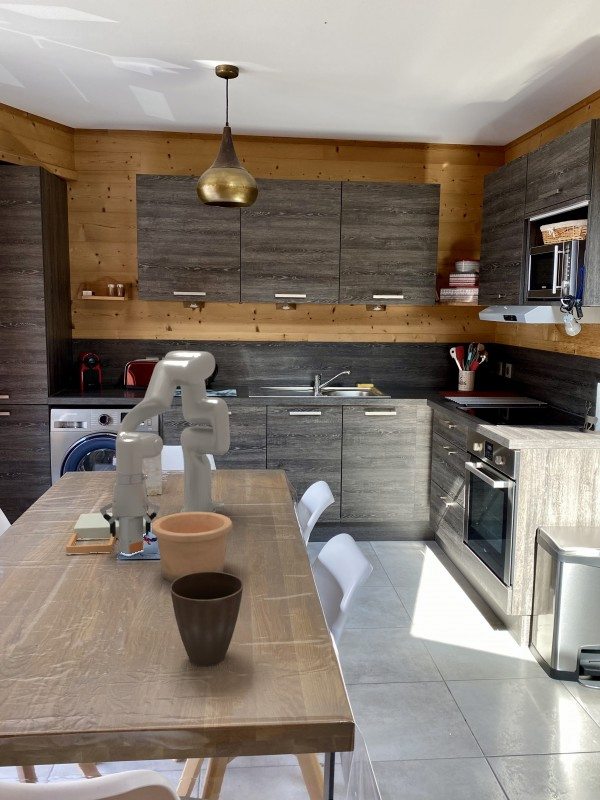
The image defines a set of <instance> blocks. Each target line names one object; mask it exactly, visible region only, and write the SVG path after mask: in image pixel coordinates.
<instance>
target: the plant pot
mask: <svg viewBox="0 0 600 800" xmlns="http://www.w3.org/2000/svg"><path fill="white" fill-rule="evenodd" d="M169 587H170V588H169V589H170V595H171V596H170V597H171V600H172V601H171V602H172V606H173V607H172V608H173V613H174V617H175V622H176V624H177V625H176V626H177V629H178V631H179V635H180V639H181V642H182V645H183V647H184V649H185V652H186V655H187V657H188V659H189V661H190V662H191V663H192V664H194V665H195V666H200V667H210V666H211V667H212V666H215V665H218V664H220V663H222V662H223V661H224V659H225V657H226V655H227V652H228V649H229V647H230V645H231V641H232V638H233V635H234V632H235V630H236V629H235V628H236V625H237V621H238V616H239V613H240V609H241V608H240V607H241V603H242V596H243V590H244V582H243V581H242V579H241V578H240V577H238V576H236V575H234V574H232V573H227V572H224V571H223V572H197V573H191V574H188V575H184V576H182V577H180V578H178V579H176V580H175V581H174V582H171V584H170V585H169Z"/></svg>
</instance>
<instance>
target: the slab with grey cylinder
mask: <svg viewBox="0 0 600 800" xmlns="http://www.w3.org/2000/svg"><path fill="white" fill-rule="evenodd" d="M147 513H148V514H149V510H148V511H147ZM107 514H108V515H110V516H112V515H113V514H112V512H107ZM115 522H116V535H115V537H112V533H111V534H110V524H109V522H108V521H107V520H106V519H104V517H103V515H102V514H101V512H98V513H97V512H96V513H80V516H79V518H78V520H77V521H76V523H75V525H74V526H73V534H72V535H71V537H70V539H69V541H68V543H67V545H66V546H65V550H66V551H65V552H66V553H90V552H97V553H98V552H110V553H109V554H112V553H113V551H114V548H113V547H115V545H114V544H116V541H117V539H116V538H119V517H117V518H116V519H115ZM145 523H146V520H145V519H144V518H143V534H145V533H146V530H145ZM78 538H81V539H83V538H110V539H109V541H108V543H107V544H103V543H102V544H87V545H84V544H83V545H80V544H79V545H76V544H75V542H76V540H77V539H78ZM76 543H77V542H76ZM74 544H75V546H74ZM112 550H113V551H112ZM111 552H112V553H111Z"/></svg>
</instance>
